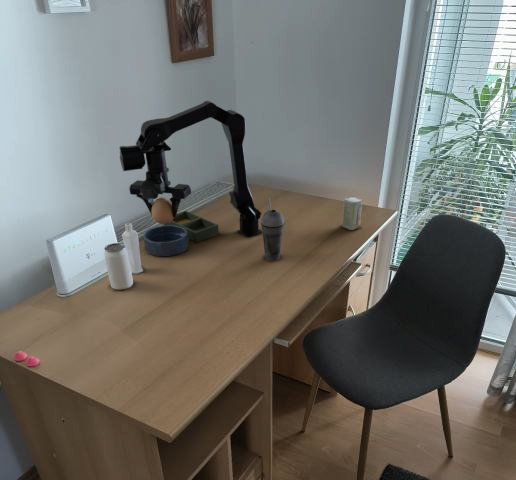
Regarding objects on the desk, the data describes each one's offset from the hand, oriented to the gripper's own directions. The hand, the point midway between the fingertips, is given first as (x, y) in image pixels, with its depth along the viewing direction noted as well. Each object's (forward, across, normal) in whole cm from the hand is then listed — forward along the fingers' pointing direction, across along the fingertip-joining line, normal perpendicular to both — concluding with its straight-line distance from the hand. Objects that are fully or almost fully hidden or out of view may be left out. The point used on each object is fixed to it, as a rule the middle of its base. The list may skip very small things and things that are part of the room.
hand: (163, 215), depth 160 cm
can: (+11, -2, -27) cm, 29 cm away
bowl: (+11, 0, 0) cm, 11 cm away
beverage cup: (+11, +36, +2) cm, 38 cm away
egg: (+3, 0, 0) cm, 3 cm away
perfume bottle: (+11, -2, -18) cm, 21 cm away
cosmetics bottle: (+11, +56, +33) cm, 66 cm away
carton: (+11, +2, +15) cm, 19 cm away
